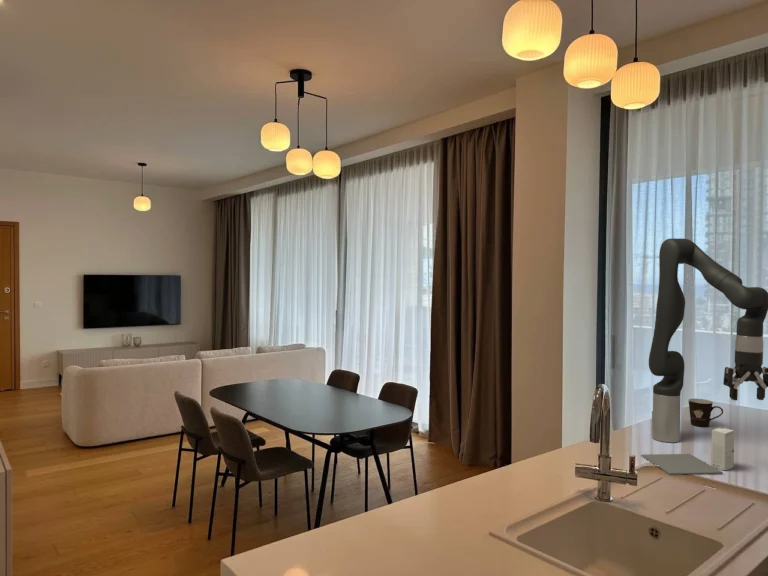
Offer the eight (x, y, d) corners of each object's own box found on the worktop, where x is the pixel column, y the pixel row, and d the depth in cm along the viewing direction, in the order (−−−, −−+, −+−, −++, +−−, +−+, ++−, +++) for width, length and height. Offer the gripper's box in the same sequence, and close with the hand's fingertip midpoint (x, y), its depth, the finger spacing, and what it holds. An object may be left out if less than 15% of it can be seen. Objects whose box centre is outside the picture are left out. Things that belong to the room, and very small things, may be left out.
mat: (641, 456, 186) (641, 454, 186) (689, 455, 186) (689, 453, 186) (669, 475, 169) (669, 473, 169) (722, 474, 170) (722, 472, 169)
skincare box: (725, 471, 172) (726, 433, 172) (710, 467, 176) (711, 429, 175) (734, 467, 175) (735, 430, 175) (719, 463, 179) (720, 426, 179)
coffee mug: (683, 423, 225) (683, 399, 225) (696, 421, 229) (697, 397, 228) (710, 431, 215) (710, 406, 214) (724, 428, 218) (724, 403, 218)
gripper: (762, 347, 177) (760, 396, 178) (719, 347, 177) (717, 396, 178) (779, 351, 170) (777, 402, 171) (735, 351, 169) (733, 402, 170)
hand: (746, 399), depth 174 cm, fingers open, 8 cm apart
